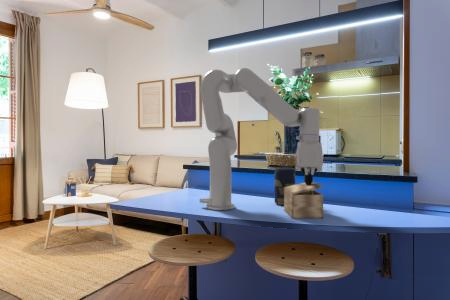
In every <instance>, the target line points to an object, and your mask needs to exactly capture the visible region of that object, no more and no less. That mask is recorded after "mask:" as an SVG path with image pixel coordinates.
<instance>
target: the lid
mask: <svg viewBox="0 0 450 300" xmlns="http://www.w3.org/2000/svg"><path fill="white" fill-rule="evenodd" d="M284 189H285V190H286V191H288V192H289V193H290V194H292V195H293V194H297V193H302V192H306V191H310V190H314V191H315V190H319V189H323V185H322V184H319V183H317V182H315V181H313V182H312V183H311V185H306V184H305V182H301V183H300V182H299V183H298V184H296V183H295V185H292V186H287V187H284Z"/></svg>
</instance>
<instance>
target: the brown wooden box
mask: <svg viewBox="0 0 450 300" xmlns="http://www.w3.org/2000/svg"><path fill="white" fill-rule="evenodd" d="M283 211H284V212H285V213H286V214H287V215H288V216H289V218H290V219H324V194H323V193H320V192H318V191H316V190H315V189H314V190H310V191H306V192H302V193H297V194H293V195H292V194H290V193H289V192H288V191H286V190H285V189H284V205H283Z"/></svg>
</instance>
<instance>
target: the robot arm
mask: <svg viewBox="0 0 450 300" xmlns="http://www.w3.org/2000/svg"><path fill="white" fill-rule="evenodd" d="M199 87H200V88H199V89H200V98H201V101H202V108H203V113H204V120H205V126H206V128H207V130H208V131H209V133H210V132H211V133H213V134H214V135H215V137H212V138H211V140H210V141H209V143H208V146H207V150H208V151H207V152H208V160H209V161H208V162H209V196H208V197H206V198H201V197H200V198H199V203H200V204H205V205H206V207H205V208H206V209H208V210H212V211H228V210H233V209H235V204H234V203H232V160H231V156H233V155H234V154H235V153H236V151H237V149H238V142H237V138H236V133H235V128H234V122H233V120H232V118H231V116H230V115H228V114H226V113H225V111H224V106H223V102H222V99H221V96H220V95H221V94H220V93H224V94H228V93H229V94H230V93H242V92H243V93H246V94H247V95H248V96H249V97H251V98H252V99H253V100H254V102H256V103H257V104H259V106H261V107H262V108H264V109H265V111H267V112H268V113H269V114H270V115H271V116H273V117H274V119H276V120H277V121H278V122H279V123H280V124H282V125H284V126H286V127H290V128H292V127H299V135H296V136H295V139H296V140H298V142H297V146H296V150H295V151H296V153H295V167H294V169H295V171H296V170H297V171H301V173H302V174H303V175H304V178H303V180H304V182H305V184H306V185H311V183H312V182H314V181H313V180H314V179H313V177H314V174H316V173H317V172H319V171H322V170H323V165H324V154H323V146H322V145H323V144H322V142H320V115H321V113H320V110H319V109H318V108H316V107H306V108H301V109H296V108H295V107H293V106H292V105H291V104H290V103H289V102H287V101H286V100H285V99H284V98H283V97H281V95H279V94H278V93H277V92H276V91H275V89H274V88H273V87H272V86H271V85H269V84H268V83H267V82H266V81H264V80H263V79H262V78H261V77H260V76H258V75H257V74H256V73H255V72H254V71H252V70H251V69H249V68H247V67H242V68H240V69H238V70H237V71H236V72H235V73H229V74H228V73H226V72H225V71H223V70H222V69H217V68H216V69H212V70H210V71H208V72H207V73H206V74H205V75H204V76H203V78H202V80H201V82H200V86H199ZM308 168H309V169H308ZM308 170H309V171H308ZM304 182H303V183H304Z"/></svg>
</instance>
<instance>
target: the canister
mask: <svg viewBox="0 0 450 300" xmlns="http://www.w3.org/2000/svg"><path fill="white" fill-rule="evenodd" d="M292 185H296V169H295V167H294V168H293V167H290V166H287V165H282V166H279V167H276V168H275V169H274V204H276V205H279V206H284V187H287V186H292Z"/></svg>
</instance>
